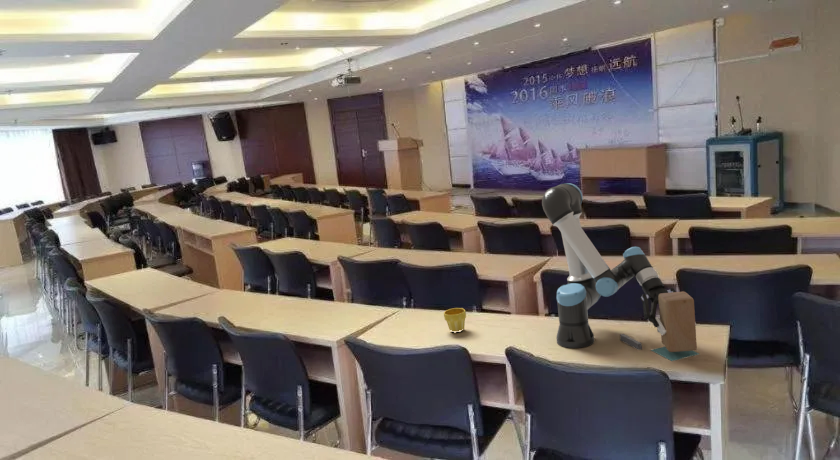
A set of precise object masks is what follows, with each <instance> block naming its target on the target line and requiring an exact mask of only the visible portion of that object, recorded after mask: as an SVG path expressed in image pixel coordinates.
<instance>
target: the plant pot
mask: <svg viewBox="0 0 840 460" xmlns="http://www.w3.org/2000/svg"><path fill="white" fill-rule="evenodd" d="M443 317H444V320H445V321H446V324H447V326H448V329H449V331H450V330H452V331H459V330H462V329H464V330H465V322H466V318H467V313H466V310H465V309H464V308H463V307H454V308H449V309H446V310H445V311H444V312H443Z"/></svg>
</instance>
